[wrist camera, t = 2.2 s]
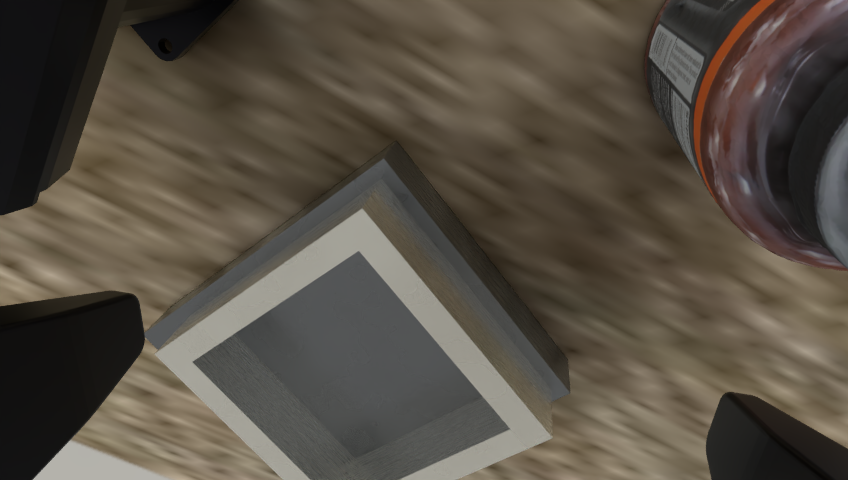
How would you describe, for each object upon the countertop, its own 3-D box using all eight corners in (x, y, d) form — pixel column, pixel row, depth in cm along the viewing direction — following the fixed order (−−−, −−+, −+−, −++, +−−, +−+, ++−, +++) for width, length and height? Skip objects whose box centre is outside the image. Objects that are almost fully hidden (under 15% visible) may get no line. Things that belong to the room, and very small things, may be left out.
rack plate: (396, 140, 21) (363, 185, 17) (567, 360, 24) (573, 442, 20) (169, 308, 26) (103, 373, 22) (332, 473, 29) (300, 557, 25)
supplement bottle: (849, -93, 16) (1338, -148, 6) (860, 117, 19) (1237, 320, 9) (622, -19, 18) (727, 30, 8) (656, 165, 20) (773, 384, 10)
